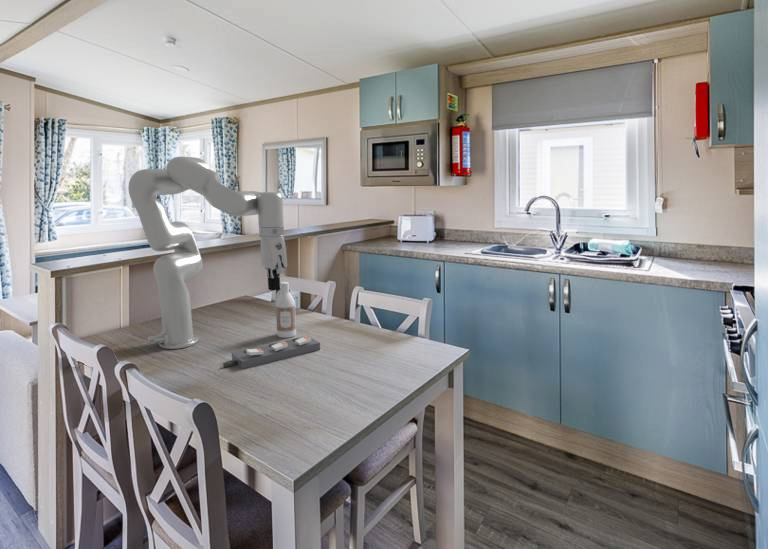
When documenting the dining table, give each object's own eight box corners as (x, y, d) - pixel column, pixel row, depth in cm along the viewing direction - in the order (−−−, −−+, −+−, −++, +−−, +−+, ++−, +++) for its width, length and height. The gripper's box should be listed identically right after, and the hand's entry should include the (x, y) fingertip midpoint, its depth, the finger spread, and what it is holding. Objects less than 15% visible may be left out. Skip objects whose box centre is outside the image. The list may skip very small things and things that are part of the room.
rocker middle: (275, 351, 145) (275, 348, 145) (271, 348, 148) (270, 345, 147) (288, 346, 148) (287, 343, 147) (283, 343, 150) (283, 340, 150)
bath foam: (276, 338, 165) (273, 285, 161) (278, 332, 172) (275, 280, 168) (295, 337, 166) (293, 284, 162) (296, 331, 173) (294, 280, 169)
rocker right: (299, 345, 150) (299, 342, 150) (295, 342, 153) (294, 340, 152) (311, 340, 153) (310, 338, 152) (306, 338, 155) (306, 335, 155)
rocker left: (249, 355, 140) (250, 352, 140) (245, 352, 142) (246, 349, 142) (263, 354, 143) (263, 351, 143) (259, 351, 145) (259, 348, 145)
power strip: (229, 372, 136) (228, 363, 135) (219, 362, 143) (218, 354, 142) (320, 349, 154) (319, 342, 154) (307, 342, 161) (307, 335, 161)
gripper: (293, 233, 138) (295, 292, 142) (272, 229, 150) (275, 283, 154) (270, 235, 134) (273, 296, 137) (250, 231, 145) (253, 286, 149)
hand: (274, 289), depth 145 cm, fingers closed
